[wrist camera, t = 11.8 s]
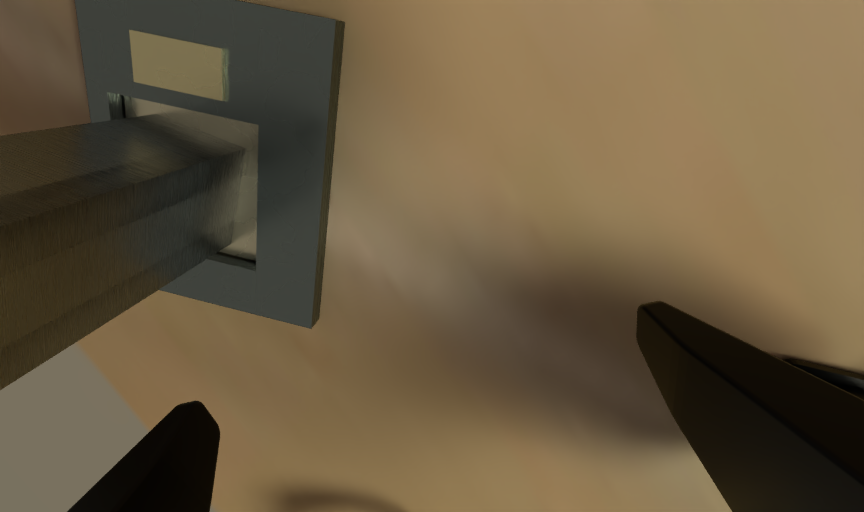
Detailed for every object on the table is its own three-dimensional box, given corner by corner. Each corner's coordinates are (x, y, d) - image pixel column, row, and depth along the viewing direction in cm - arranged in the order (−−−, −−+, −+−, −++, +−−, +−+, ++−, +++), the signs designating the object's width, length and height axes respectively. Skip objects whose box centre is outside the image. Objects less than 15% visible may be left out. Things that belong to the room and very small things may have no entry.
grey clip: (246, 148, 21) (-60, 245, 10) (231, 243, 23) (-34, 411, 12) (156, 113, 21) (-247, 171, 10) (150, 211, 23) (-188, 349, 12)
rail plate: (344, 21, 18) (333, 19, 17) (319, 318, 24) (309, 330, 23) (92, -28, 19) (66, -33, 18) (126, 269, 25) (108, 279, 24)
